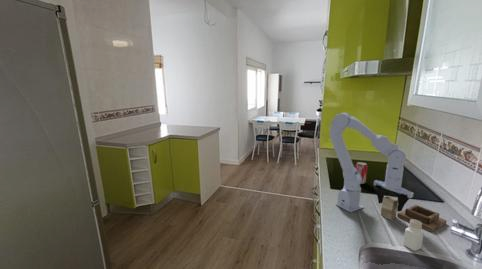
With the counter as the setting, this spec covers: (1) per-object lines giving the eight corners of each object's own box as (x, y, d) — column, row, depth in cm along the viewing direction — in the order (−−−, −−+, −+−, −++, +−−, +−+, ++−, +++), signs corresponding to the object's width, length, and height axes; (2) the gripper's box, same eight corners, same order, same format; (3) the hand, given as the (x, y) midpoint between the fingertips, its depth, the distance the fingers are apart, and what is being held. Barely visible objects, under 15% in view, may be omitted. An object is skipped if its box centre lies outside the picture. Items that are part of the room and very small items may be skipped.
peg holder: (431, 232, 83) (433, 222, 82) (397, 216, 93) (398, 208, 92) (445, 223, 88) (447, 214, 87) (412, 210, 99) (413, 201, 98)
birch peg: (390, 219, 91) (392, 201, 89) (380, 214, 94) (382, 197, 93) (395, 217, 93) (398, 199, 91) (386, 212, 96) (388, 195, 95)
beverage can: (367, 185, 126) (369, 165, 123) (355, 184, 127) (357, 164, 125) (363, 181, 132) (365, 162, 129) (352, 180, 133) (354, 161, 131)
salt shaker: (414, 252, 72) (419, 226, 70) (401, 244, 76) (405, 219, 74) (421, 249, 74) (426, 223, 72) (409, 241, 77) (412, 217, 75)
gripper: (419, 180, 86) (414, 212, 88) (381, 169, 98) (378, 197, 101) (409, 184, 83) (404, 216, 85) (372, 172, 95) (368, 200, 98)
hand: (389, 206), depth 93 cm, fingers open, 7 cm apart
